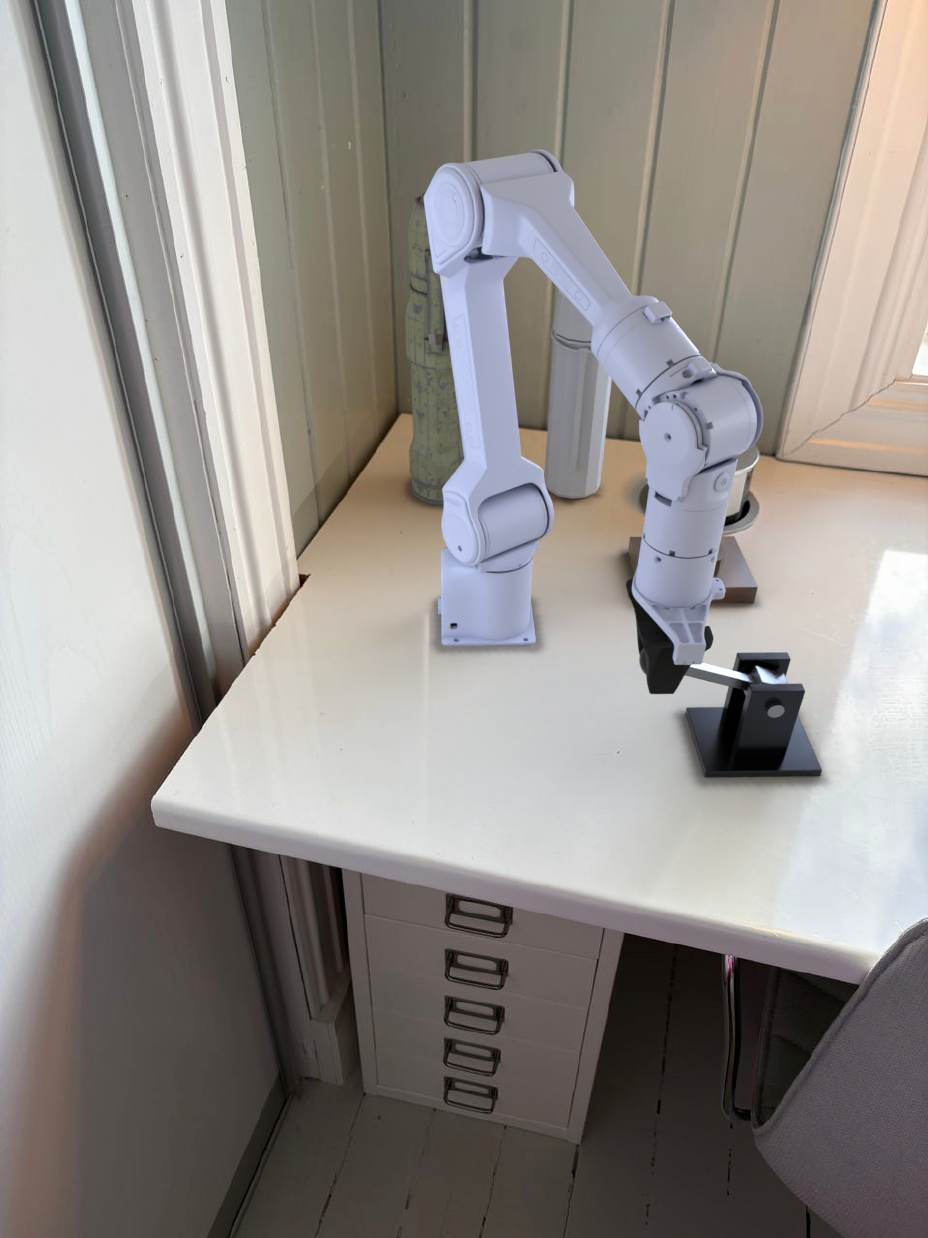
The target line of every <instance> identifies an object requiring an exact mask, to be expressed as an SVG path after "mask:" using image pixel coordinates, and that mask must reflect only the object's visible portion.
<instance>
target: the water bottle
mask: <svg viewBox="0 0 928 1238" xmlns="http://www.w3.org/2000/svg"><path fill="white" fill-rule="evenodd" d="M555 305H556V306H555V312H554V317H553V323H552V328H551V329H550V338H551V339H552V341H553V343H552V345H553V346H552V357H551V370H550V371H551V373H550V387H549V403H548V418H547V430H546V431H547V433H546V446H545V447H546V448H545V459H544V461H545V462H544V480H545V485H546V489H547V491H548V492H550V493H552V494H553V495H554V496H556V497H559V498H564V499H570V500H578V499H585V498H588V497H590V496H592V495H594V494H595V493H596V492H597V491H598V489H599V487H600V486H601V480H602V479H601V478H602V471H603V463H604V455H605V454H604V452H605V445H606V435H607V426H608V419H609V410H610V409H609V408H610V398H611V390H612V381H613V380H612V378H611V377H610V376H609V374H608V373H607V372H606V371H605V369H604V368H603V367H602V365H601V364H600V363H599V361H598V360H597V358H596V357H595V356H594V354H593V353H592V350H591V339H592V332H593V326H592V325H591V324H590V323H589V322H588V321H587V319H586V318H585V317H584V316H583V315H582V314H581V313H580V312H579V311H578V310H577V308H576V307H575V306H574V305H573V304H572V303H571V302H570V301H569V300H568V298H567V297H566V296H565V295H564V294H563V293H562V292H561V291H560V290H559V289H558V293H557V300H556V304H555Z"/></svg>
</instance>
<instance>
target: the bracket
mask: <svg viewBox="0 0 928 1238" xmlns="http://www.w3.org/2000/svg"><path fill="white" fill-rule="evenodd" d="M791 660H792V659H791V657H790V654H789V653H788V652H786V651H785V652H784V651H781V652H780V651H779V652H777V651H775V652H768V651H767V652H737V653H736V655H735V660H734V663H733V667H732V670H733V671H737V672H741V673H745V674H750V672H751V671H752V669H753V668H754V666H760V667H763V668H767V669H771V670H775V671H779V672H783V673H784V675H785V677H786V678H787V673H788V670H789V667H790V664H791ZM727 687H728V688H727V691H726V695H725V700H724V704H723V705H724V706H706V707H705V706H703V707H701V706H696V707H690V706H689V707H686V709H685V717H686V720H687V723H688V727H689V730H690V734H691V736H692V741H693V744H694V746H695V750H696V754H697V757H698V760H699V763H700V767H701V770H702V774H703V777H704V778H707V779H708V778H784V777H785V778H789V777H793V778H794V777H795V778H797V777H821V775H822V772H823V770H822V767H821V765H820V763H819V760H818V758H817V756H816V753H815V750H814V749H813V746H812V744H811V742H810V740H809V737H808V735H807V733H806V731H805V728H804V726H803V724H802V721H801V718H800V716H799V713H800V710H801V707H802V703H803V701H804V697H805V694H806V689H805V687H804V685H803V683H788V684H749V687H748V691H747V695H745V693H744V690H741V689H737V688H733V687H729V686H727Z"/></svg>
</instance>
